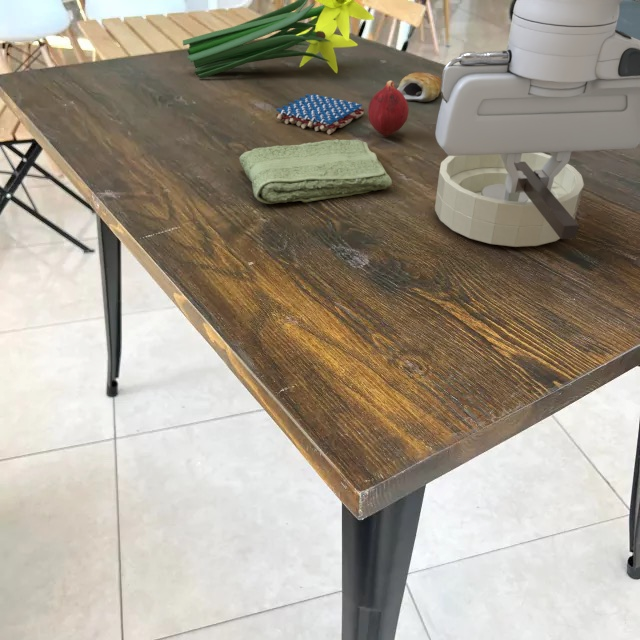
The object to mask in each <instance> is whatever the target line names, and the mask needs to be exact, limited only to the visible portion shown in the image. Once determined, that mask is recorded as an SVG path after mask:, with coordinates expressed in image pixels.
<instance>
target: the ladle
mask: <svg viewBox="0 0 640 640" xmlns="http://www.w3.org/2000/svg"><path fill="white" fill-rule="evenodd" d="M514 165H515V167H516V170H517V171H522V172H523V173H524V174H523V175H525V176H526V177H527V181H526V185H525V186H524V187H525V190H524V192H521V193H509V192H508V191H507V189H506V186H505V184H493V185H489V186H486V187H485V188H483V190H482V193H481V196H485V197H489V198H494V199H498V200H505V201H515V202H528V198H529V199H530V200H531V201H532V203H533V204H534V205H535V206H536V208H537V209H538V210H539V212H540V213H541V214H542V215H543V217H544V218H545V219H546V221H547V222H548V223H549V224H550V226H551V227H552V228H553V230H554V231H555V232H556V233H557V235H558V236H559V237H560V239H561V240H569V239H576V237H577V234H578V230H579V227H580V225H579V223H578V222H577V221H576V219H575V220H574V219H573V217H572V216H571V215H570V214H569V213H568V212H567V210H566V209H565V208H564V207H563V206H562V205H561V203H560V202H559V201H558V200H557V199H556V197H555V196H554V195H553V194H552V193H551V192H550V190H549V189H548V188H547V187H546V186H545V185H544V183H543V182H542V181H541V180H540V179H539V178H538V176H537V175H536V174H535V173H534V172H533V170H532V169H531V168H530V167H529V166H528V165H527V163H526V162H519V163H515V162H514ZM560 239H559V240H560Z"/></svg>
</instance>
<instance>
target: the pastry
mask: <svg viewBox="0 0 640 640" xmlns="http://www.w3.org/2000/svg"><path fill="white" fill-rule="evenodd" d="M441 80H442V78H441V77H440V76H437V75H434V74H432V73H430V72H419V71H417V72H416V71H415V72H413V73H412V72H411V73H408V74H407V75H405V76H403V78H401V80H400V82H399V85H398V87H397V88H396V89H397V90H399V91H400V92H401V93H402V94H403V95H404V97H405V99H406V101H407V102H408V101H409V102H410V101H417V102H421V103H423V102H427V103H429V102H432V101H434V100H435V99H436V98H438V97H439V96H440V95H441V90H440V89H441Z"/></svg>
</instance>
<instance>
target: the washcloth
mask: <svg viewBox="0 0 640 640" xmlns="http://www.w3.org/2000/svg"><path fill="white" fill-rule="evenodd" d="M238 160H239V164H240V165H241V167H242V169H243V171H244V173H245V175H246V177H247V179H248V180H249V181H251V185H252V193H253V196H254V198H255V199H256V200H257V201H259V202H260V203H262V204H267V205H274V204H280V203H283V204H284V203H287V202H289V203H290V202H292V203H294V202H302V203H310V202H315V201H321V200H326V199H334V198H343V197H349V196H353V195H359V194H366V193H369V192H373V191H374V192H375V191H378V190H379V191H380V190H385V189H387V188H388V187H392V184H393V180H392V178H391V177H390V175H389V174H388V173H387V170H386V169H385V168H384V166H383V164H382V162H381V161H380V160H378V156H377V154H376V153H375V152H372V151H371V150H370V149H369V146H368V143H367V142H366V141H363V140H358V139H338V138H337V139H328V140H322V141H315V142H311V141H310V142H308V143H306V142H305V143H301V144H291V145H290V144H289V145H288V144H287V145H273V146H272V145H271V146H266V147H256V148H253V149H251V150H248V151H245V152H243V153H242V154H241V155H240V156H239V159H238Z"/></svg>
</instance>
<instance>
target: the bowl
mask: <svg viewBox="0 0 640 640" xmlns="http://www.w3.org/2000/svg"><path fill="white" fill-rule="evenodd" d="M551 156H552V155H551V154H547V153H545V152H543V153H522V155H521V160H520V162H526V163H527V165H528V166H529V167H530V168H531V169H532V170H533V172H534V170H542V168H543V167H544V166H545V164H546V163H547V162H548V160H549V159H550V158H551ZM439 167H440V168H439V172H438V179H437V180H438V181H437V189H436V196H435V204H434V211H435V213H436V215H437V217H438V219H439V221H440V222H441V223H443V224H444V225H445V226H446V227H448V228H449V229H450V230H451V231H453V232H455V233H457V234H458V235H459V234H460V235H462V236H464V237H466V238H467V239H471V240H474V241H478V242H482V243H486V244H489V245H497V246H506V247H513V248H514V247H515V248H517V247H519V248H521V247H537V246H542V245H545V244H549V243H553V242H557V241H558V240H560V237H559V236H558V235H557V233H556V232H555V231H554V230H553V228H552V227H551V226H550V224H549V223H548V222H547V221H546V219H545V218H544V217H543V215H542V214H541V213H540V212H539V210H538V209H537V208H536V206H535V205H534V204H533V203H532V201H531V200H530V199H529V198H528V202H515V201H505V200H498V199H494V198H489V197H485V196H481V193H482V190H483V188H485V187H486V186H489V185H493V184H505V183H506V178H507V173H508V172H507V171H506V169H505V166H504V164H503V162H502V159H501V157H500V154H490V155H464V156H449V155H447V156H446V158H445V159H443V160H442V161H441V162H440V166H439ZM584 187H585V183H584V178H583V176H582V174H581V173H580V172H579V171H578V170H577V169H576V168H575V167H574V166H573V165H571V164H569V163H567V164H566V165H565V166H564V168H563V169H562V170H561V171H560V172H559V173H558V174H557V176H556V177H554V180H553V184H552V189H551V191H550V192H551V193H552V194H553V195H554V196H555V197H556V199H557V200H558V201H559V202H560V203H561V205H562V206H563V207H564V208H565V209H566V210H567V212H568V213H569V214H570V215H571V216H572V217H573V219H574V220H575V221H576V217H577V214H578V209H579V205H580V202H581V199H582V195H583V191H584Z"/></svg>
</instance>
